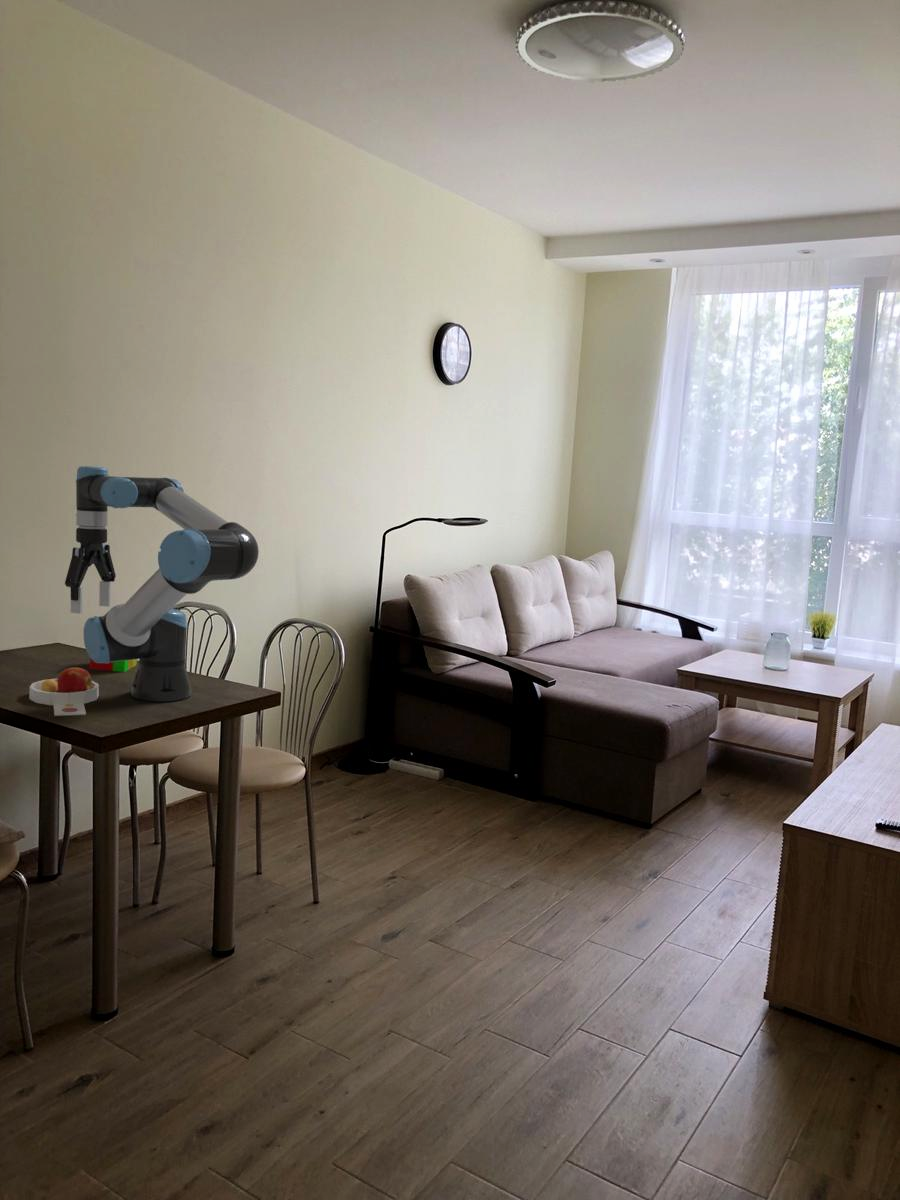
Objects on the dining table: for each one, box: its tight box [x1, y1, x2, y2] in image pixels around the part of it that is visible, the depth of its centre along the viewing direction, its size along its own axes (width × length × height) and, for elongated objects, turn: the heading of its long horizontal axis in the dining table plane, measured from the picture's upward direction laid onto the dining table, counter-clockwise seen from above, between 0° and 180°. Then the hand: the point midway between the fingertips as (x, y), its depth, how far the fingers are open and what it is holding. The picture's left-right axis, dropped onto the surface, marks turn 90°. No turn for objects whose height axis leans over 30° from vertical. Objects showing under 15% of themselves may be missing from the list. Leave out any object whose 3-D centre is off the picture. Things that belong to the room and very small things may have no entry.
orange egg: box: [41, 678, 58, 693], centre depth 255 cm, size 4×4×4 cm
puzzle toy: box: [89, 657, 138, 673], centre depth 290 cm, size 10×10×10 cm
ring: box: [28, 677, 100, 706], centre depth 254 cm, size 16×16×3 cm
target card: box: [53, 702, 87, 717], centre depth 244 cm, size 10×7×1 cm
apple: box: [57, 666, 93, 693], centre depth 253 cm, size 8×8×8 cm
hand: (90, 609), depth 259 cm, fingers open, 13 cm apart
